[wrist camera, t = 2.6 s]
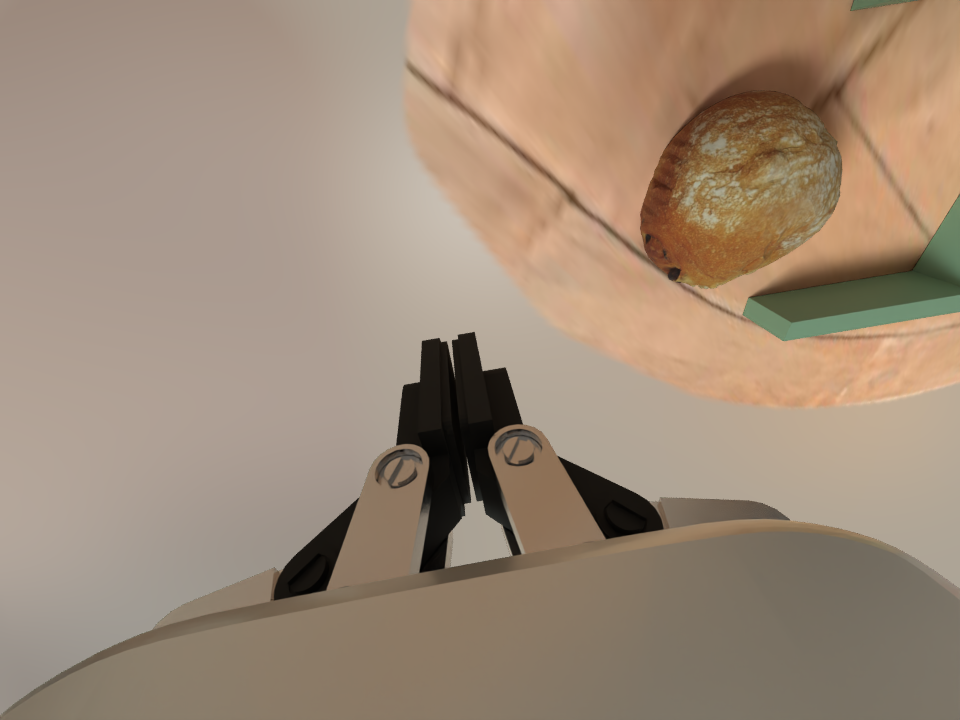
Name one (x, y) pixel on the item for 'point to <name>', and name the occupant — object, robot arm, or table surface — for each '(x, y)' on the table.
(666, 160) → the bread roll
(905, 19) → the table surface
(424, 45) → the table surface
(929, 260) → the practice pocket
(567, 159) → the table surface
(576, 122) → the table surface
